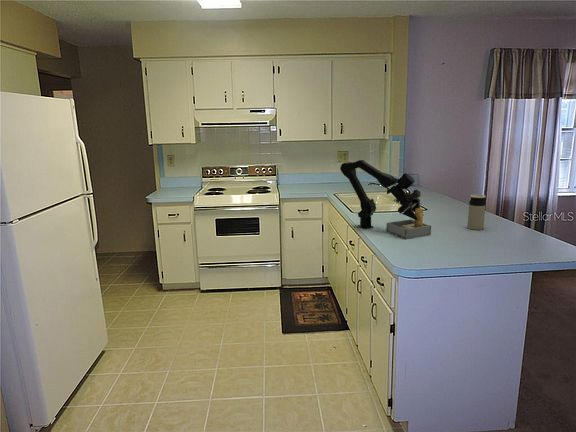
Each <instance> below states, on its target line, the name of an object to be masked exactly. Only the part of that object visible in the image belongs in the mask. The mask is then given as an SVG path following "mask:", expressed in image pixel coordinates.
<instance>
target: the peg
mask: <svg viewBox="0 0 576 432" xmlns="http://www.w3.org/2000/svg"><path fill="white" fill-rule="evenodd" d="M414 214H415V215H416V217H417V218H418V219H417V220H414V221H415V222H414V228H417V227H422V223H424V222H423V220H424V217H423V215H424V208H422V207H420V208H415V212H414Z"/></svg>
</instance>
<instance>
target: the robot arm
mask: <svg viewBox="0 0 576 432" xmlns="http://www.w3.org/2000/svg"><path fill="white" fill-rule="evenodd" d="M339 169H340V172H341V173H342V174H343V176H344V177H345V178H347V179H348V180H349V182H350V184H351V186H352V189H353V190H354V192H355V194H356V196H357V197H358V198H357V199H358V201H359V203H360V209H361V210H360V211H359V212H358V213H357V216H358V218H359V224H358V225H357V227H359V228H361V229H369V228H370V229H371V228H374V225H372V216H373V215H374V213H375V212H376V210H377V204H376V203H375V201H374V199H373V198H370V197H368V195H367V193H366V191H365V190H364V189H365V188H364V187H363V186H362V183H361V182H360V179H359V178H358V176H357V169H361V170H362V171H364V172H365V173H366V174H368V175H370V176H371V177H374V178H375V179H376V181H377V182H378V183H379V184H380V185H381V186H383V187H384V188H386V194H387V195H390V194H391V195H392V196H393V198H395V199H396V200H395V201H396V203H399V204H400V206H399V207H398V208H397V212H398V214H401V215H404V216H406V217H408V218H410V219H411V220H414V221H415V220H417V219H418V218H417V217H416V215H415V208H421V206H420V205H421V199H420V197H421V196H422V195H421V194H422V193H421V191H420V190H418V189H415V190H412V192H411V193H409V192H405V190H408V189H409V188H410V187H412V186H413V185H414V184H415V182H416V181H415V178H414V177H413V176H411V175H409V174H408V173H407V172H405V173H403V174H402V176H400V177H399V178H397V177H395V176H394V175H392V174H389V173H386V172H382V171H380V170H379V169H377V168H376V167H374V166H372V165H371V164H369V163H368V162H367V161H365V159H364V160H363V159H359V160H357V161H353V162H352V161H347V162H343V163H342V164H340V168H339ZM389 187H390V188H389ZM423 216H425V215H424V214H423Z"/></svg>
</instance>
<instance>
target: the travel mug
mask: <svg viewBox="0 0 576 432" xmlns="http://www.w3.org/2000/svg"><path fill="white" fill-rule="evenodd" d="M485 199H486V195H483V194H471V195H470V200H469V201H468V202H469V204H468V216H467V228H468V229H470V230H473V231H480V230H481V231H482V230H484V226H485V214H486V202H487V201H486V200H485Z"/></svg>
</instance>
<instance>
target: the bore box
mask: <svg viewBox="0 0 576 432" xmlns="http://www.w3.org/2000/svg"><path fill="white" fill-rule="evenodd" d="M414 222H415V220H414V219H412V218H410V219H403V220H397V221H391V222H390V221H389V222H386V229H385V230H386V233H388V232H389V234H391V235H393V234H394V236H396V235H397V237H400V238H401V237H402V238H401V239H404V240H409V238H410V239H414V238H421V237H427V236H431V233H432V225H430V224H428V223H427V224H426V223H424V222H423V223H422V227H417V228H414Z"/></svg>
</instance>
